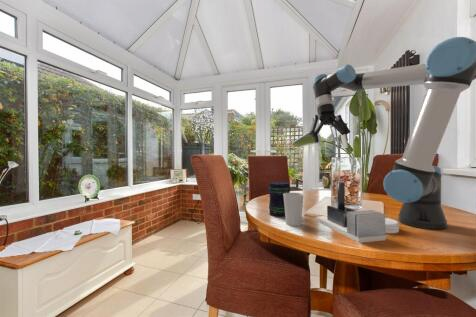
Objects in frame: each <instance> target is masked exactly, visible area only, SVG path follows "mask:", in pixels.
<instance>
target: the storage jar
mask: <svg viewBox="0 0 476 317" xmlns="http://www.w3.org/2000/svg"><path fill="white" fill-rule="evenodd" d="M284 193H291V183H290V182H289V181H269V182H268V195H269V203H268V205H269V206H268V211H269V213H268V214H269V216H271V217H275V218H285V206H284V196H283V194H284Z"/></svg>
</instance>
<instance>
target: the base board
mask: <svg viewBox="0 0 476 317" xmlns="http://www.w3.org/2000/svg"><path fill="white" fill-rule="evenodd" d="M315 221H316V222H318V223H320V224H322V225H324V226H325V227H328V228H329V229H332V230H334V231H335V232H337V233H339V234H340V235H343V236H344V237H347V238H348V239H350V240H353V241H354V242H356V243H358V244H359V243H360V244H362V243H370V242H381V241H386V240H387V235H386V234H385V235H383V236H373V237H363V238H357V236H356V237H355V236H353V235H351V234H349V233H347V227H342V226H340V225H337V224H335V223H333V222H331V221H329V220H327V215H324V216H323V215H321V216H315Z"/></svg>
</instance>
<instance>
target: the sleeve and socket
mask: <svg viewBox="0 0 476 317" xmlns="http://www.w3.org/2000/svg"><path fill="white" fill-rule="evenodd" d="M326 207H327V208H326V209H327V210H326V212H327V215H326V216H327V220H329V221H331V222H333V223H335V224H337V225H340V226H342V227H347V233H349V234H351V235H353V236H355V237H356V236H357V238H363V237H373V236H383V235H386V233H385V218H386V213H383V212H380V211H377V210H374V209H367V210H355V209H353V208H349V207H346V206H345V211H343V210H340V209H338V206H337V205H336V207H335V206H332V205H327V206H326ZM345 213H347V222H346V221H345Z"/></svg>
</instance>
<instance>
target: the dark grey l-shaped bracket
mask: <svg viewBox="0 0 476 317" xmlns="http://www.w3.org/2000/svg"><path fill="white" fill-rule="evenodd" d="M345 185H346V183H345V182H344V181H343V182H341V181H339V182H337V184H336V186H337V189H336V192H337V194H336V195H337V199H336V200H337V204H336V207H337V206H338V207H337V208H338V209H340V210H343V211H345V207H346V199H345V198H346V186H345ZM345 221H346V222H347V213H345Z"/></svg>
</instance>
